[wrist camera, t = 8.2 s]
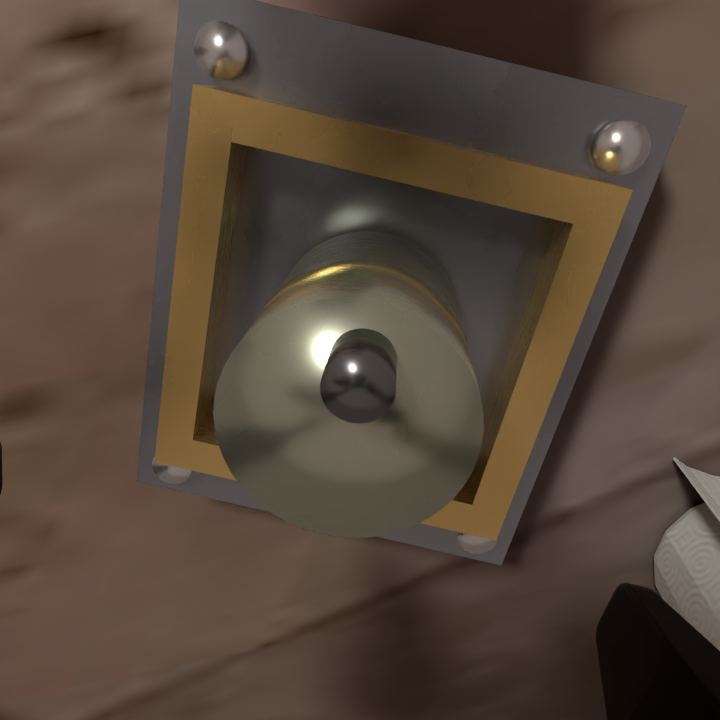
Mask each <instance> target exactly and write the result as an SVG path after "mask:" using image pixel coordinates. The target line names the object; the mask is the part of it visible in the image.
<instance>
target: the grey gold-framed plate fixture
mask: <svg viewBox="0 0 720 720" xmlns="http://www.w3.org/2000/svg"><path fill="white" fill-rule="evenodd" d="M685 108H686V105H682V104H678V103H674V102H670V101H666V100H662V99H658V98H653V97H649V96H645V95H641V94H637V93H633V92H629V91H625V90H621V89H617V88H612V87H608V86H604V85H600V84H596V83H592V82H588V81H584V80H580V79H575V78H571V77H567V76H563V75H559V74H555V73H551V72H547V71H543V70H538V69H534V68H530V67H526V66H522V65H518V64H514V63H510V62H506V61H502V60H497V59H493V58H489V57H485V56H481V55H477V54H473V53H469V52H465V51H460V50H456V49H452V48H448V47H444V46H440V45H436V44H432V43H428V42H423V41H419V40H415V39H411V38H407V37H403V36H399V35H395V34H391V33H387V32H382V31H378V30H374V29H370V28H366V27H362V26H358V25H354V24H350V23H345V22H341V21H337V20H333V19H329V18H325V17H321V16H317V15H313V14H309V13H304V12H300V11H296V10H292V9H288V8H284V7H280V6H276V5H272V4H267V3H263V2H259V1H255V0H180V2H179V14H178V25H177V36H176V47H175V58H174V70H173V81H172V92H171V103H170V115H169V126H168V137H167V148H166V159H165V171H164V182H163V193H162V204H161V215H160V227H159V238H158V249H157V260H156V272H155V283H154V294H153V305H152V316H151V328H150V339H149V350H148V361H147V372H146V384H145V395H144V406H143V417H142V429H141V440H140V451H139V462H138V473H137V481H138V482H142V483H146V484H151V485H155V486H159V487H164V488H168V489H172V490H177V491H181V492H185V493H190V494H194V495H198V496H203V497H207V498H211V499H216V500H220V501H224V502H229V503H233V504H237V505H241V506H246V507H250V508H254V509H259V510H263V511H267V512H269V511H268V510H266V509H265V508H263V507H262V506H261V505H260V504H259V503H257V502H256V501H255V500H254V499H253V498H252V497H251V496H250V495H249V494H248V493H247V492H246V491H245V490H244V489H243V488H242V487H241V485H240V484H239V483H238V481H237V480H236V479H235V477H234V476H233V474H232V473H231V471H230V470H229V468H228V466H227V464H226V462H225V460H224V458H223V456H222V453H221V450H220V448H219V445H218V441H217V437H216V433H215V428H214V415H213V411H214V397H215V392H216V388H217V383H218V380H219V378H220V375H221V372H222V370H223V367H224V365H225V364H226V362H227V360H228V358H229V357H230V355H231V353H232V352H233V350H234V349H235V348H236V346H237V345H238V343H239V342H240V341H241V339H242V338H243V336H244V335H245V334H246V332H247V331H248V330H249V328H250V327H251V325H252V324H253V323H254V321H255V320H256V319H257V317H258V316H259V314H260V313H261V312H262V310H263V309H264V308H265V306H266V305H267V303H268V302H269V301H270V299H271V298H272V296H273V295H274V294H275V292H276V291H277V290H278V288H279V287H280V285H281V284H282V283H283V281H284V280H285V279H286V277H287V276H288V274H289V273H290V272H291V270H292V269H293V268H294V266H295V265H296V264H297V263H298V261H299V260H300V259H301V258H302V257H303V256H304V255H305V254H306V253H307V252H309V251H310V250H311V249H313V248H314V247H315V246H317V245H319V244H320V243H322V242H324V241H326V240H328V239H330V238H333V237H336V236H338V235H342V234H346V233H351V232H360V231H373V232H382V233H387V234H391V235H395V236H398V237H401V238H403V239H405V240H407V241H410V242H412V243H414V244H415V245H417V246H418V247H420V248H421V249H423V250H424V251H425V252H427V253H428V254H429V255H430V256H431V257H432V258H433V259H434V260H435V261H436V262H437V263H438V264H439V265H440V266H441V268H442V269H443V271H444V272H445V274H446V275H447V277H448V279H449V281H450V283H451V285H452V287H453V289H454V292H455V295H456V298H457V302H458V306H459V311H460V315H461V319H462V323H463V327H464V331H465V335H466V339H467V344H468V348H469V352H470V356H471V360H472V364H473V368H474V373H475V377H476V381H477V385H478V389H479V393H480V398H481V403H482V408H483V419H484V431H483V440H482V446H481V450H480V453H479V457H478V460H477V462H476V465H475V467H474V469H473V471H472V474H471V475H470V477H469V478H468V480H467V482H466V483H465V485H464V486H463V488H462V489H461V490H460V491H459V492H458V494H457V495H456V496H455V497H454V498H453V499H452V500H451V501H450V502H449V503H448V504H447V505H446V506H445V507H444V508H443V509H441V510H440V511H438V512H437V513H436V514H434V515H433V516H431V517H430V518H428V519H426V520H424V521H423V522H421V523H419V524H417V525H415V526H412V527H410V528H407V529H405V530H402V531H399V532H395V533H392V534H388V535H383V536H376V537H380V538H384V539H389V540H393V541H397V542H402V543H406V544H410V545H415V546H419V547H423V548H428V549H432V550H436V551H441V552H445V553H449V554H454V555H458V556H462V557H467V558H471V559H475V560H480V561H484V562H488V563H493V564H497V565H502V563H503V560H504V558H505V555H506V553H507V550H508V548H509V545H510V543H511V540H512V538H513V535H514V533H515V530H516V528H517V525H518V523H519V520H520V518H521V515H522V513H523V511H524V508H525V506H526V503H527V501H528V498H529V496H530V493H531V491H532V488H533V486H534V483H535V481H536V478H537V476H538V473H539V471H540V468H541V466H542V463H543V461H544V458H545V456H546V453H547V451H548V448H549V446H550V444H551V441H552V439H553V436H554V434H555V431H556V429H557V426H558V424H559V421H560V419H561V416H562V414H563V411H564V409H565V406H566V404H567V401H568V399H569V396H570V394H571V391H572V389H573V386H574V384H575V381H576V379H577V377H578V374H579V372H580V369H581V367H582V364H583V362H584V359H585V357H586V354H587V352H588V349H589V347H590V344H591V342H592V339H593V337H594V334H595V332H596V329H597V327H598V324H599V322H600V319H601V317H602V314H603V312H604V309H605V307H606V305H607V302H608V300H609V297H610V295H611V292H612V290H613V287H614V285H615V282H616V280H617V277H618V275H619V272H620V270H621V267H622V265H623V262H624V260H625V257H626V255H627V252H628V250H629V247H630V245H631V242H632V240H633V238H634V235H635V233H636V230H637V228H638V225H639V223H640V220H641V218H642V215H643V213H644V210H645V208H646V205H647V203H648V200H649V198H650V195H651V193H652V190H653V188H654V185H655V183H656V180H657V178H658V175H659V173H660V171H661V168H662V166H663V163H664V161H665V158H666V156H667V153H668V151H669V148H670V146H671V143H672V141H673V138H674V136H675V133H676V131H677V128H678V126H679V123H680V121H681V118H682V116H683V113H684V111H685Z"/></svg>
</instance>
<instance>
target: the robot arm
mask: <svg viewBox="0 0 720 720" xmlns="http://www.w3.org/2000/svg"><path fill="white" fill-rule="evenodd" d="M1 490H2V446H1V443H0V494H1ZM596 643H597V650H598V658H599V665H600V672H601V679H602V686H603V694H604V701H605V708H606V715H607V720H720V651H719V650H718V649H717V648H716V647H715V646H714V645H713V644H712V643H711V642H710V641H708V640H707V639H706V638H705V637H704V636H703V635H702V634H701V633H700V632H698V631H697V630H696V629H695V628H694V627H693V626H692V625H691V624H690V623H689V622H687V621H686V620H685V619H684V618H683V617H682V616H681V615H680V614H679V613H677V612H676V611H675V610H674V609H673V608H672V607H671V606H670V605H669V604H668V603H666V602H665V601H664V600H663V599H662V598H661V597H660V596H659V595H658V594H657V593H655V592H654V591H653V590H651V589H649V588H646V587H642V586H638V585H633V584H629V583H623V584H620V585H619V586H618V587H617V588H616V590H615V591H614V593H613V595H612V597H611V599H610V601H609V603H608V605H607V607H606V609H605V611H604V613H603V615H602V617H601V619H600V621H599V623H598V626H597V632H596Z"/></svg>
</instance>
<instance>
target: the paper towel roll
mask: <svg viewBox="0 0 720 720" xmlns="http://www.w3.org/2000/svg"><path fill="white" fill-rule="evenodd" d="M673 460H674V461H675V462H676V464H677V465H678V466H679V468H680V469H681V470H682V472H683V473H684V474H685V476H686V477H687V479H688V480H689V481H690V483H691V484H692V485H693V487H694V488H695V489H696V491H697V492H698V493H699V495H700V496H701V497H702V499H703V500H704V501H705V502H704V503H702V504H700V505H698V506H695V507H693V508H691V509H689V510H688V511H687V512H686V513H685V514H683V515H682V516H681V517H680V518H679V519H678V520H677V521H676V522H675V523H673V524H672V525H671V526H670V527H669V528H668V529H667V530H666V531H665V533H664V535H663V537H662V539H661V541H660V543H659V546H658V548H657V550H656V552H655V554H654V574H655V586H656V588H657V590H658V592H659V593H660V595H661V597H662V599H663V600H664V601H665V602H666V603H668V604H669V605H670V606H671V607H672V608H673V609H674V610H675V611H676V612H677V613H679V614H680V615H681V616H682V617H683V618H684V619H685V620H686V621H687V622H689V623H690V624H691V625H692V626H693V627H694V628H695V629H696V630H697V631H698V632H700V633H701V634H702V635H703V636H704V637H705V638H706V639H707V640H708V641H710V642H711V643H712V644H713V645H714V646H715V647H716V648H717V649H718V650H719V651H720V477H719V476H713V475H710V474H707V473H704V472H701V471H698V470H695V469H692V468H689V467H687V466H686V465H685V464H683V463H682V462H680V461H679V460H678V459H676V458H675V457H674V458H673Z"/></svg>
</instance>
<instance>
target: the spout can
mask: <svg viewBox="0 0 720 720" xmlns="http://www.w3.org/2000/svg"><path fill="white" fill-rule="evenodd" d="M213 415H214V428H215V433H216V437H217V441H218V445H219V448H220V450H221V453H222V456H223V458H224V460H225V462H226V464H227V466H228V468H229V470H230V471H231V473H232V474H233V476H234V477H235V479H236V480H237V481H238V483H239V484H240V485H241V487H242V488H243V489H244V490H245V491H246V492H247V493H248V494H249V495H250V496H251V497H252V498H253V499H254V500H255V501H256V502H257V503H259V504H260V505H261V506H262V507H263V508H265V509H266V510H268V511H269V512H271V513H272V514H274V515H275V516H277V517H279V518H280V519H282V520H284V521H286V522H288V523H290V524H292V525H295V526H297V527H299V528H302V529H304V530H308V531H311V532H315V533H318V534H322V535H328V536H333V537H343V538H370V537H376V536H383V535H388V534H392V533H395V532H399V531H402V530H405V529H407V528H410V527H412V526H415V525H417V524H419V523H421V522H423V521H424V520H426V519H428V518H430V517H431V516H433V515H434V514H436V513H437V512H438V511H440V510H441V509H443V508H444V507H445V506H446V505H447V504H448V503H449V502H450V501H451V500H452V499H453V498H454V497H455V496H456V495H457V494H458V492H459V491H460V490H461V489H462V488H463V486H464V485H465V483H466V482H467V480H468V478H469V477H470V475H471V474H472V471H473V469H474V467H475V465H476V462H477V460H478V457H479V453H480V450H481V446H482V440H483V431H484V419H483V408H482V403H481V398H480V393H479V389H478V385H477V381H476V377H475V373H474V368H473V364H472V360H471V356H470V352H469V348H468V344H467V339H466V335H465V331H464V327H463V323H462V319H461V315H460V311H459V306H458V302H457V298H456V295H455V292H454V289H453V287H452V285H451V283H450V281H449V279H448V277H447V275H446V274H445V272H444V271H443V269H442V268H441V266H440V265H439V264H438V263H437V262H436V261H435V260H434V259H433V258H432V257H431V256H430V255H429V254H428V253H427V252H425V251H424V250H423V249H421V248H420V247H418V246H417V245H415V244H414V243H412V242H410V241H407V240H405V239H403V238H401V237H398V236H395V235H391V234H387V233H382V232H373V231H360V232H351V233H346V234H342V235H338V236H336V237H333V238H330V239H328V240H326V241H324V242H322V243H320V244H319V245H317V246H315V247H314V248H313V249H311V250H310V251H309V252H307V253H306V254H305V255H304V256H303V257H302V258H301V259H300V260H299V261H298V263H297V264H296V265H295V266H294V268H293V269H292V270H291V272H290V273H289V274H288V276H287V277H286V279H285V280H284V281H283V283H282V284H281V285H280V287H279V288H278V290H277V291H276V292H275V294H274V295H273V296H272V298H271V299H270V301H269V302H268V303H267V305H266V306H265V308H264V309H263V310H262V312H261V313H260V314H259V316H258V317H257V319H256V320H255V321H254V323H253V324H252V325H251V327H250V328H249V330H248V331H247V332H246V334H245V335H244V336H243V338H242V339H241V341H240V342H239V343H238V345H237V346H236V348H235V349H234V350H233V352H232V353H231V355H230V357H229V358H228V360H227V362H226V364H225V365H224V367H223V370H222V372H221V375H220V378H219V380H218V383H217V388H216V392H215V397H214V411H213Z"/></svg>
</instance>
